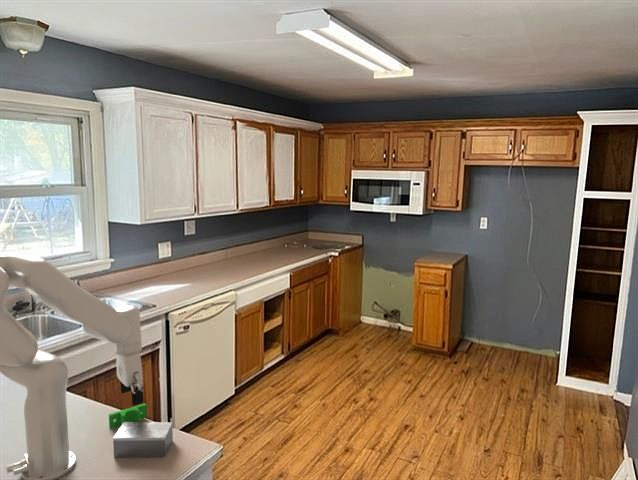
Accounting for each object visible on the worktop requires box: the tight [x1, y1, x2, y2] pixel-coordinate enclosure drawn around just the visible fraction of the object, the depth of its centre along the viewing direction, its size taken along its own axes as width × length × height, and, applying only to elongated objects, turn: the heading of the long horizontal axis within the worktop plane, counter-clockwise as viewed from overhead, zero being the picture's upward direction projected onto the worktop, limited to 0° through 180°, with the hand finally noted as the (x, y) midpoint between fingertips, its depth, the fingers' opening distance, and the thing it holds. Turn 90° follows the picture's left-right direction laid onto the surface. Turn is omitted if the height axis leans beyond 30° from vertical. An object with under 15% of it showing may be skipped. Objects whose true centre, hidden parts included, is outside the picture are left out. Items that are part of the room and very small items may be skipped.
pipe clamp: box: [108, 402, 147, 430], centre depth 146 cm, size 11×4×5 cm, turn 130°
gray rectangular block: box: [112, 421, 174, 459], centre depth 133 cm, size 14×8×6 cm, turn 93°
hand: (132, 397), depth 145 cm, fingers open, 9 cm apart
